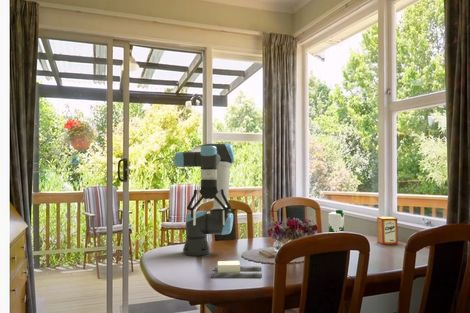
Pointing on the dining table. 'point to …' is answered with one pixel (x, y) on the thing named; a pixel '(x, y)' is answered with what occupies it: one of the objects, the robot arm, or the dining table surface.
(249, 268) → the twin grey rails
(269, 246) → the dining table surface
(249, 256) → the dining table surface
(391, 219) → the baking soda box
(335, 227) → the milk carton
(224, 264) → the cream block
